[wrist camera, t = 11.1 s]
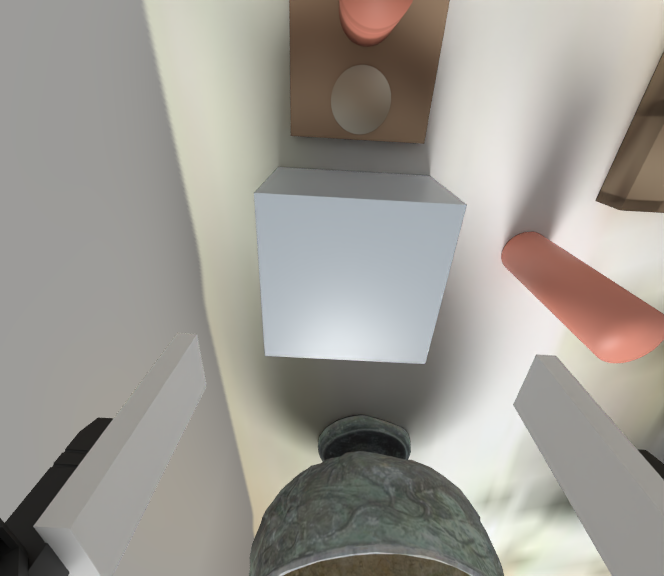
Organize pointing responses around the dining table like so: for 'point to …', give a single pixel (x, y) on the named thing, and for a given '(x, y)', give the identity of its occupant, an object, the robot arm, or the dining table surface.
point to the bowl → (371, 514)
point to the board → (364, 67)
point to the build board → (640, 156)
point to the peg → (585, 299)
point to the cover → (353, 262)
